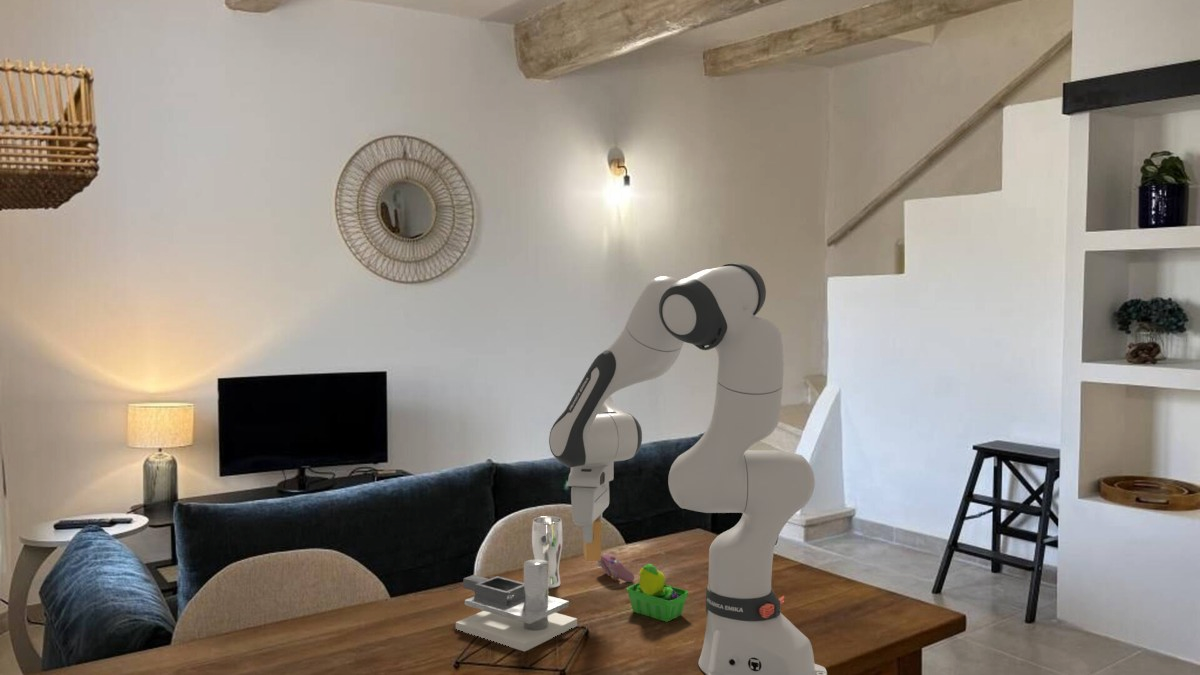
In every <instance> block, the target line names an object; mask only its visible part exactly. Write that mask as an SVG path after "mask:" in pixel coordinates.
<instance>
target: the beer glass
mask: <svg viewBox="0 0 1200 675" xmlns="http://www.w3.org/2000/svg"><path fill="white" fill-rule="evenodd" d="M562 522H563V520H562V518H560V517H558V516H553V515H551V516H550V515H543V516H537V517H535V518H533V520H532V527H531V528H532V529H531V530H532V531H531V543H532V544H531V545H532V552H533V557H534V559H539V560H545V561H547V562H548V590H549V589H556V588H558V587H560V586H561V585H562V584H561V583H562V582H561V577H560V569H559V567H560V561H561V555H562V550H563V535H564V534H563V523H562ZM534 559H533V560H534Z"/></svg>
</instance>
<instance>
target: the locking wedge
mask: <svg viewBox="0 0 1200 675" xmlns="http://www.w3.org/2000/svg"><path fill="white" fill-rule="evenodd" d="M593 533H594V540H593V541H592V542H591V543H585V542H584V534H582V535H583V536H582V539H583V548H582V549H583V556H584V559H585V561H586V562H592V561H593V562H598V561H601V554H602V520H601V521H600V519H599V518H597V519H596V520H595V521H594V522H593Z"/></svg>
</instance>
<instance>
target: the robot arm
mask: <svg viewBox="0 0 1200 675" xmlns="http://www.w3.org/2000/svg"><path fill="white" fill-rule="evenodd" d="M766 296H767V289H766V284H765V281H764V279H763V277H762V276H761V274H760V273H759V272H758V271H757V270H756V269H755V268H753V267H751V266H749V265H747V264H743V263H726V264H723V265H721V266H718V267H714V268H709V269H704V270H703V269H702V270H701V271H698V272H695V273H693V274H692V275H689V276H687V277H686V278H681V279H678V278H676V277H673V276H669V275H667V276H663V275H662V276H657V277H655V278H653V279H652V280H649V282H648V283H647V284H646V285H645V287H644V288H643V290H642V291H641V293H640V295H639V297H638V298H637V300H636V301H635V303H634V305H633V307H632V309H631V310H630V313H629V316H628V318H627V321H626V323H625V325H624V327H623V329H622V331H621V332H620V333H619V335H618V337H617V338H616V339H615V340H614V341H613V343H612V344H611V345H609V346H608V347H607V348H606V349H605V350H603V351H602V352H601V353H599V355H597V356H596V358H595V359H594V360H593V362H592V363H591V364H590V366H589V367H588V370H587V371H586V372H585V375H584V377H583V378H582V380H581V381H580V383H579V384H578V387H577V389H576V390H575V393H574V394H573V396H572V397H571V400H570V401H569V402H568V405H567V406H566V408H565V409H564V411H563V412H562V413H561V414H560V415H559V417H557V419H556V421H555V422H554V423H553V425H552V427H551V428H550V431H549V436H548V437H549V438H548V440H549V441H548V443H549V450H550V452H551V454H552V455H553V457H554V458H555V459H556V460H558V462H559V463H561V464H562V465H563V466H565V467H567V468H568V469H569V468H570V472H569V474H568V477H567V478H568V479H567V481H568V482H567V483H568V486H569V487H571V489H570V500H571V514H572V515H571V516H572V521H573V523H574V525H575V526H581V529H582V533H583V534H584V542H585V543H591V542H592V541H593V540H594V533H593V522H594V521H595V520H596V519H597V518H599V519H600V521H601V522H602V518H603V513H604V511H605V510H606V509H607V508H608V507H609V504H610V482H611V481H614V474H615V473H614V472H615V470H614V465H615V462H621V461H622V462H624V461H626V460H630V459H633V458H634V457H635V456H636V455H637V454H638V452H639V451H640V449H641V447H642V441H643V432H642V427H641V424H640V423H639V421H638V420H637V419H636V418H635V416H634V415H632V414H631V413H626V412H625V411H623V410H621V409H620V408H619V407H617V406H616V404H614V402H613V397H612V395H613V394H615V393H616V392H618V391H620V390H622V389H625V388H627V387H630V386H633V385H636V384H639V383H644V382H646V381H650V380H654V379H656V378H658V377H661V376H663V375H664V374H666V373H667V372H668V371H669V370H670V369H671V368H672V367H673V365H674V364H675V363H676V362H677V359H678V358H679V355H680V353H681V350H682V348H683V345H684V343H687V344H690V345H693V346H695V347H697V348H698V349H700V350H702V351H709V350H712V349H714V348H715V350H716V352H717V358H718V366H717V374H716V375H717V378H716V388H715V396H714V397H715V399H714V405H713V411H712V416H711V419H710V422H709V424H708V426H707V428H706V430H705V432H704V433H703V434H702V436H701V437H700V438H699V440H697V442H695V443H694V445H693V446H691V447H690V448H689V449H687V450H686V451H684V452H683V453H681V454H680V455H678V456H677V457H676V458H675V460H674V461H673V463H672V464H671V466H670V470H669V473H668V477H667V478H668V480H667V481H668V482H667V483H668V490H669V493H670V496H671V498H672V499H673V501H674V502H675V504H676V505H678V507H679V508H681V509H686V510H689V511H694V512H700V513H705V514H713V513H714V514H716V513H718V514H720V513H721V514H726V513H728V514H729V513H732V514H733V513H736V514H737V513H739V514H740V513H741V514H742V515H741V518H740V519H739V521H738V522H737V523H736V524H735V525H734V526H733V527H731V528H730V529H727V530H726V531H723V532H722V533H720V534H718V535H717V536H716V537H715V538H714V540H712V542H711V544H710V546H709V549H708V584H707V586H706V590H705V591H706V592H705V613H706V617H707V618H706V628H705V632H704V633H705V634H704V640H703V645H702V649H701V653H700V657H699V659H698V666H699V668H700V670H701V671H702V672H703V673H704V674H705V675H828V671H827V669H826V667H824V666H823V665H820V664H817V663H815V657H814V651H813V647H812V643H811V641H810V639H809V638H808V637H807V636H806V635H805V634H804V633H803V632H801V631H800V630H799V629H798V628H797V626H795V625H794V624H793V623H792V622H791V620H789V619H788V618H787V617H786V616H785V615H784V614H783V613H781V605H783V604H784V603H785V600H784V599H785V595H782V596H781V597H777V595H776V594H775V592H774V590H773V588H772V574H773V572H772V571H773V561H774V560H773V559H774V552H775V546H776V543H777V541H778V539H779V536H780V533H781V532H782V530H783V529H784V527H785V526H786V524H787V523H788V522H789V520H790V519H791V518H792V517H793V516H794V515H795V514H796V513H797V512H799V511H800V510H802V509H803V508H804V507H806V505H807V504H808V503H809V502H810V500H811V498H812V497H813V494H814V490H815V485H816V484H815V482H816V481H815V474H814V471H813V469H812V466H811V465H810V463H809V461H808V460H807V459H806V458H805V457H804V456H803V455H802V454H800V453H799V454H798V453H794V452H791V451H784V450H778V449H750V450H749V448H750V447H751V446H753V445H754V444H756V443H759V442H760V441H762V440H764V439H766V438H768V437H769V436H770V435H771V434H772V433H773V432H774V431H775V429H776V428H777V427H778V424H779V422H780V416H781V415H780V414H781V405H782V395H783V387H784V386H783V384H784V372H785V371H784V370H785V368H784V365H785V363H784V346H783V338H782V333H781V331H780V329H779V328H778V327H777V325H775V323H773V322H772V321H770V320H768V319H765V318H763V317H760V316H759V317H758V316H756V315H757V314H758V313H759V312H760V310H761V309H762V308H763V306H764V305H765V301H766ZM583 534H582V535H583Z"/></svg>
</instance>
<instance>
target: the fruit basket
mask: <svg viewBox="0 0 1200 675" xmlns="http://www.w3.org/2000/svg"><path fill="white" fill-rule="evenodd" d="M665 581H666V576H665V575H664V573H663V572H662V571H660V570H659V569H657V568H656V566H655V565H654V564H652V563H647V564H646V565H644V566H643V567H642V568H641V569H640V570H639V580H638V582H637V583H635V584H633V585H630V586H628V587H626V592H627V594H628V596H629V601H630V603H631V610H632V611H633V613H637V614H641V615H644V616H647V617H650V618H653V619H655V620H660V621H663V622H666V623H668V621H669V622H670V621H672V619H673V620H675V619H677V618H678V617H681V616H682V614H683V611H684V606H685V603H686V599H687V597H688V595H689V591H688V590H687V589H682V588H678V587H675V586H671V585H667V584H665ZM680 615H681V616H680ZM674 618H675V619H674Z"/></svg>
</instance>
